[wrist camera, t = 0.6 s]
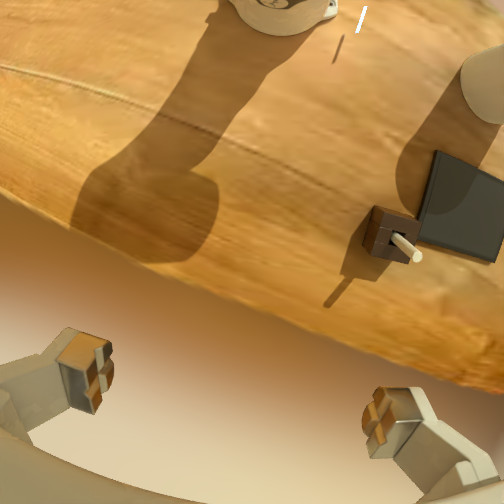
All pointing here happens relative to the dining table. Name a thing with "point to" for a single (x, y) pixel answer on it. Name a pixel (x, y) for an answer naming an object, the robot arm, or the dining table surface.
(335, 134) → the dining table surface
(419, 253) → the stylus
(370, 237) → the pen stand
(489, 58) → the utensil holder
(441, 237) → the tablet
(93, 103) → the dining table surface
